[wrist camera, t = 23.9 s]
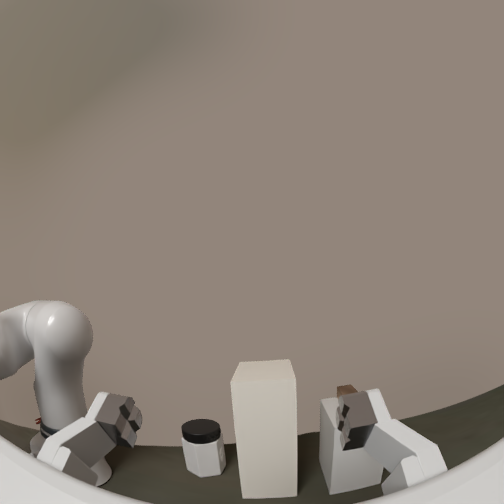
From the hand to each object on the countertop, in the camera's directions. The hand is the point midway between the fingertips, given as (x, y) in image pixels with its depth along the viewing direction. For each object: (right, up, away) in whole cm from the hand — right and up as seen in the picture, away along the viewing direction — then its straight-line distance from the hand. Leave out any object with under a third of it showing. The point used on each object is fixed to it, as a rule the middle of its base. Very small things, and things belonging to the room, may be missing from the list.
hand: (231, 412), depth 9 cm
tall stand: (+4, -40, +32) cm, 52 cm away
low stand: (+20, -39, +30) cm, 53 cm away
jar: (-9, -42, +36) cm, 56 cm away
